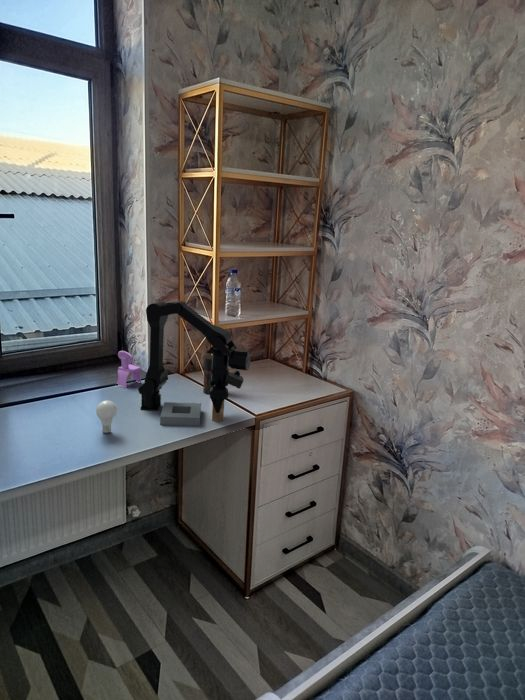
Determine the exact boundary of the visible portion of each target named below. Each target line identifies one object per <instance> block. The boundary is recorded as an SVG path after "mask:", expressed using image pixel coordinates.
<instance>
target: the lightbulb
mask: <svg viewBox="0 0 525 700" xmlns="http://www.w3.org/2000/svg"><path fill="white" fill-rule="evenodd" d="M117 410H118V409H117V405H116V403H114V402H113V401H111V400H107V399H106V400H102V401H100V402H99V403H98V404H97V406H96V408H95V412H96V416H97V417H98V419H99V420H100V422H101V425H102V426H101V427H102V433H104V434H108V433H111V432H112V423H113V419H114V418H115V416H116V415H117Z"/></svg>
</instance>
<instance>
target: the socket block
mask: <svg viewBox="0 0 525 700" xmlns="http://www.w3.org/2000/svg"><path fill="white" fill-rule="evenodd" d="M201 412H202V402H201V403H198V402H172V401H171V402H170V401H169V402H168V401H166V402H165V401H164V402H163V406H162V409H161V413H160V416H159V417H160V418H159V425H160V426H192V427H195V426H196V427H197V426H198V427H199V426H200V422H201Z"/></svg>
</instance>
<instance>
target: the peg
mask: <svg viewBox="0 0 525 700" xmlns="http://www.w3.org/2000/svg"><path fill="white" fill-rule="evenodd" d="M224 410H225V400H223V402H222V406H221V409H220V413H216V411H215V408H214V406H213V405H212V410H211V411H212V412H211V413H212V414H211V420H212V422H224V415H225V413H224V412H225V411H224ZM213 420H214V421H213Z"/></svg>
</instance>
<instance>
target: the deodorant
mask: <svg viewBox="0 0 525 700" xmlns="http://www.w3.org/2000/svg"><path fill="white" fill-rule="evenodd" d="M211 372H212V354H211V355H209V354H208V355H204V365H203V389H202V391H203V394H205V395H209V396H210V388H211V382H210V381H211Z"/></svg>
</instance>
